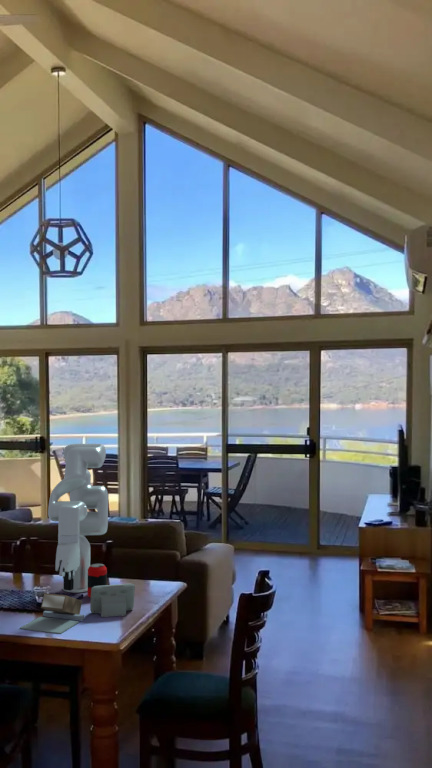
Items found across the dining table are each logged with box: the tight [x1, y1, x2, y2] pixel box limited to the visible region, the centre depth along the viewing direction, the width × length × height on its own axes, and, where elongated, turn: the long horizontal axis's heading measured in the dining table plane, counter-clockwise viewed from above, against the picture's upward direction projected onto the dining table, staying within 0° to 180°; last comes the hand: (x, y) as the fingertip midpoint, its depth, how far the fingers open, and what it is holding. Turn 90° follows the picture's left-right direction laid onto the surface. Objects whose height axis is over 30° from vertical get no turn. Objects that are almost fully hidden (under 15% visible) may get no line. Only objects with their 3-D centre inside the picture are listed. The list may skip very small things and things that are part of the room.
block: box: [40, 593, 83, 615], centre depth 232 cm, size 5×9×12 cm
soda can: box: [87, 563, 108, 599], centre depth 261 cm, size 8×8×12 cm
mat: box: [19, 616, 80, 635], centre depth 225 cm, size 12×16×1 cm
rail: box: [42, 610, 85, 622], centre depth 233 cm, size 2×16×2 cm, turn 71°
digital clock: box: [89, 583, 136, 618], centre depth 239 cm, size 16×9×11 cm, turn 94°
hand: (68, 589), depth 236 cm, fingers closed
